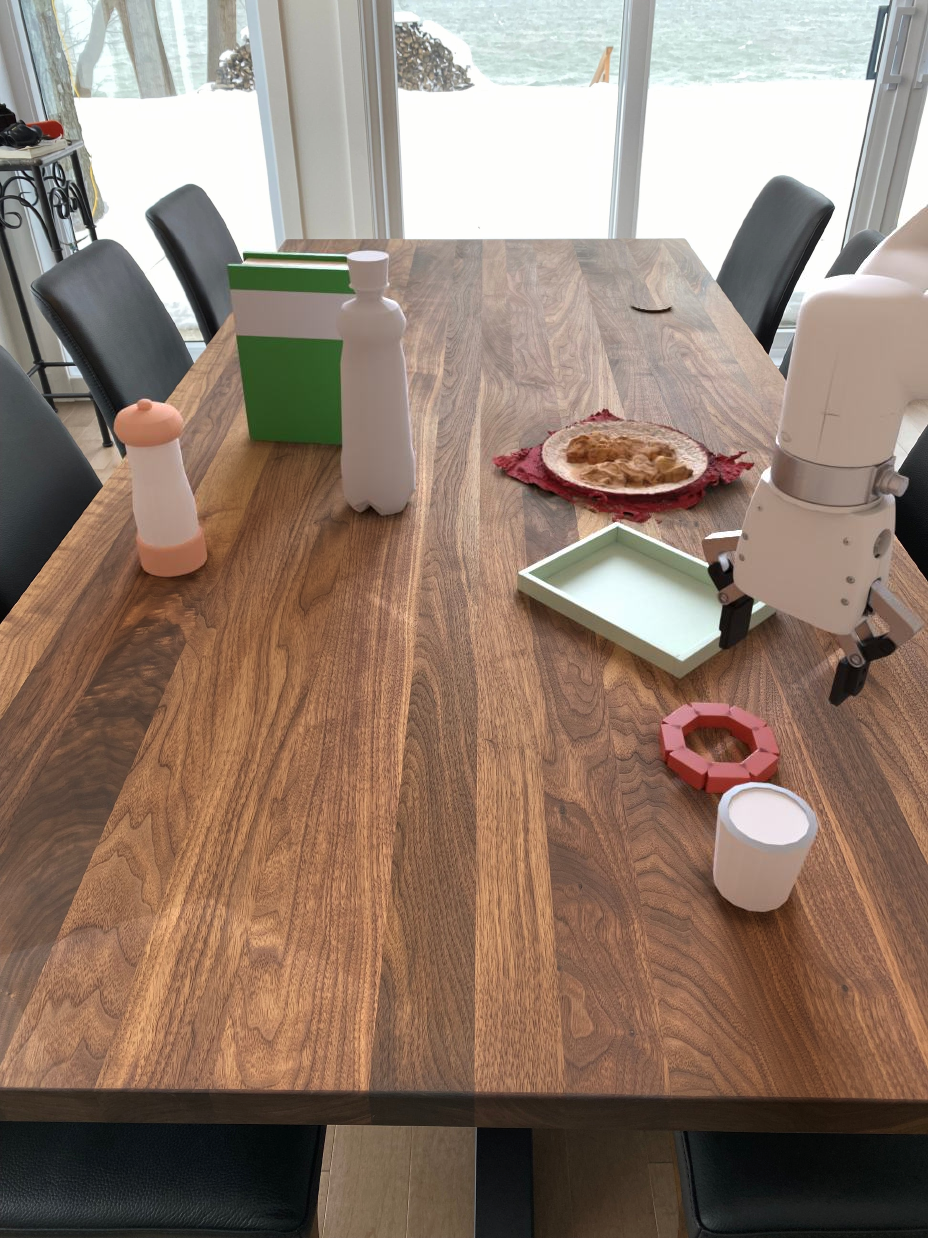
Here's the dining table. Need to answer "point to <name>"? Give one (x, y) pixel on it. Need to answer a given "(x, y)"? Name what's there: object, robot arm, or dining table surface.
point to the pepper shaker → (160, 490)
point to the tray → (636, 596)
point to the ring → (712, 773)
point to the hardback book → (290, 343)
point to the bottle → (374, 392)
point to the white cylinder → (761, 844)
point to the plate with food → (623, 466)
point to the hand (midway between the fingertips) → (785, 668)
